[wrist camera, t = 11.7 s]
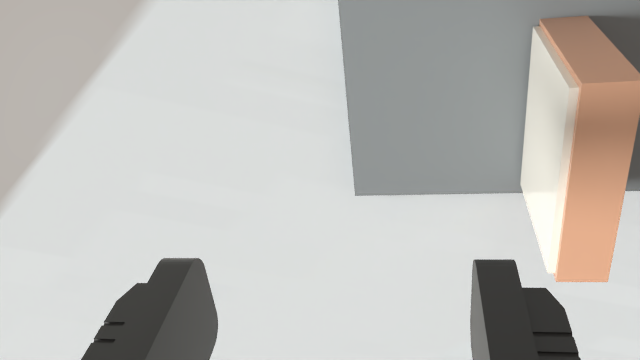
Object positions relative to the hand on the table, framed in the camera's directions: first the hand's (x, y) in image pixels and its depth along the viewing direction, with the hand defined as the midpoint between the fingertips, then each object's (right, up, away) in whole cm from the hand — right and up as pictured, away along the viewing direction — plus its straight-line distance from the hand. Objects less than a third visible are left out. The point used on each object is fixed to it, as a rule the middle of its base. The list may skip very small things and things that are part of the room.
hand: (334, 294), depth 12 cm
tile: (+8, +6, +6) cm, 12 cm away
